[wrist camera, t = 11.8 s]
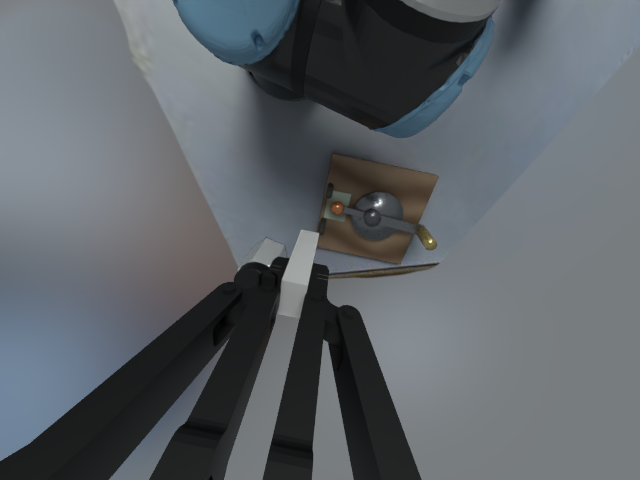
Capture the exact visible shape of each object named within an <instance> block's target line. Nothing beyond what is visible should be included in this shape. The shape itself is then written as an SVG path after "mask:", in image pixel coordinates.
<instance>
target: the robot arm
mask: <svg viewBox="0 0 640 480" xmlns="http://www.w3.org/2000/svg"><path fill="white" fill-rule="evenodd" d="M501 1H502V0H173V2H174V5H175V7H176V8H177V10H178V13H179V16H180V18H181V20H182V21H183V23H184V24H185V26H186V27H187V29H188V30H189V31H190V33H191V34H192V35H193V36H194V37H195V38H196V39H197V40H198V41H199V42H200V43H201V44H202V45H203V46H204V47H205V48H207V49H208V50H209V51H210V52H211V53H213V54H214V56H215V57H217V58H219V59H220V60H222V61H223V62H226V63H229V64H232V65H237V66H239V67H241V68H243V69H245V70H247V71H248V73H249V74H250V76H251V77H252V79H253V80H254V81H255V82H256V84H257V85H258V86H259V87H260V88H262V89H263V90H264V91H265V92H267V93H268V94H270V95H272V96H274V97H276V98H279V99H283V100H288V101H296V100H301V99H305V98H308V99H310V100H312V101H314V102H317V103H319V104H321V105H323V106H325V107H327V108H329V109H331V110H333V111H335V112H337V113H339V114H341V115H344V116H346V117H348V118H350V119H352V120H354V121H356V122H358V123H360V124H362V125H364V126H366V127H368V128H369V129H370V130H373V131H377V132H382V133H385V134H388V135H390V136H393V137H396V138H406V137H410V136H413V135H415V134H417V133H419V132H420V131H422V130H423V129H425V128H426V127H428V126H429V125H430V124H431V123H432V122H434V121H435V120H436V119H437V118H438V117H439V116H440V115H441V114H442V113H443V112H444V111H445V110H446V109H447V108H448V107H449V106H450V105H451V104H452V103H453V101H454V100H455V99H456V98H457V97H458V95H459V94H460V93H461V91H462V86H463V84H464V83H465V82H467V81H468V80H469V79H470V78H471V77H473V75H474V73H475V72H476V70H477V69H478V67H479V66H480V64H481V63H482V61H483V59H484V57H485V55H486V53H487V51H488V49H489V47H490V44H491V42H492V39H493V34H494V21H493V20H492V16H491V15H492V14H493V13H494V11H495V10H496V9H497V7H498V6H499V4H500V3H501ZM318 237H319V233H316V232H312V231H307V230H302V229H301V231H300V234H299V237H298V239H297V242H296V244H295V247H294V250H293V252H292V255H291V257H290V259H289V258H284V257H279V256H278V257H276V258H275V259H274V260H273V261H272V263H271V265H270V267H269V269H268V270H264V271H262V272H260V273H259V274H258V275H257V287H254V288H246V289H242V287H241V286H240V285H239V284H238V283H235V282H227V283H223V284H221V285H220V286H218V287H217V288H216V289H215V290H214V291H212V292H211V293H210V294H209V295H207V296H206V297H205V298H204V299H203V300H201V301H200V302H199V303H198V304H197V305H196V306H194V307H193V308H192V309H191V310H190V311H188V312H187V313H186V314H185V315H184V316H182V317H181V318H180V319H179V320H178V321H176V322H175V323H174V324H173V325H172V326H170V327H169V328H168V329H167V330H166V331H164V332H163V333H162V334H161V335H160V336H158V337H157V338H156V339H155V340H153V341H152V342H151V343H150V344H149V345H147V346H146V347H145V348H144V349H143V350H141V352H139V353H138V354H137V355H135V356H134V357H133V358H132V359H131V360H129V361H128V362H127V363H126V364H125V365H123V366H122V367H121V368H120V369H119V370H117V371H116V372H115V373H114V374H113V375H111V376H110V377H109V378H108V379H107V380H105V381H104V382H103V383H102V384H101V385H99V386H98V387H97V388H96V389H95V390H93V391H92V392H91V393H90V394H89V395H87V396H86V397H85V398H84V399H82V400H81V401H80V402H79V403H78V404H76V405H75V406H74V407H73V408H72V409H70V410H69V411H68V412H67V413H66V414H64V415H63V416H62V417H61V418H60V419H58V420H57V421H56V422H55V423H54V424H53V425H51V426H50V427H49V428H48V429H46V430H45V431H44V432H43V433H42V434H40V435H39V436H38V437H37V438H36V439H34V440H33V441H32V442H31V443H30V444H28V445H27V446H25V447H23V448H22V449H20V450H18V451H17V452H15V453H13V454H12V455H10V456H8V457H7V458H5V459H3V460H2V461H0V480H109V479H110V477H111V476H112V475H113V474H114V473H115V472H116V471H117V469H118V468H119V467H120V466H121V464H123V462H124V461H125V460H126V459H127V458H128V456H129V455H130V454H131V453H132V451H134V449H135V448H136V447H137V446H138V445H139V444H140V442H141V441H142V440H143V439H144V438H145V436H146V435H147V434H148V433H149V432H150V431H151V429H152V428H153V427H154V426H155V425H156V424H157V422H158V421H159V420H160V419H161V418H162V417H163V415H164V414H165V413H166V412H167V411H168V409H169V408H170V407H171V406H172V405H173V404H174V402H175V401H176V400H177V399H178V398H179V396H180V395H181V394H182V393H183V392H184V391H185V389H186V388H187V387H188V386H189V385H190V384H191V382H192V381H193V380H194V379H195V378H196V376H197V375H198V374H199V373H200V372H201V371H202V369H203V368H204V367H205V366H206V365H207V364H208V362H209V361H210V360H211V359H212V358H213V356H214V355H215V354H216V353H217V352H218V351H219V350H220V348H221V347H222V346H223V345H224V344H225V342H226V341H227V340H228V339H229V338H230V339H229V341H228V343H227V345H226V347H225V349H224V350H223V352H222V354H221V356H220V358H219V360H218V362H217V364H216V366H215V368H214V370H213V372H212V374H211V376H210V378H209V379H208V381H207V383H206V385H205V387H204V389H203V391H202V393H201V395H200V397H199V399H198V401H197V403H196V405H195V407H194V408H193V410H192V412H191V414H190V416H189V418H188V420H187V421H186V422H185V424H183V425H182V426H180V427H179V428H178V430H177V431H176V432H175V433H174V435H173V437H172V438H171V440H170V442H169V444H168V446H167V447H166V449H165V451H164V453H163V455H162V457H161V459H160V460H159V462H158V464H157V466H156V468H155V470H154V472H153V473H152V475H151V477H150V479H149V480H224V477H225V473H226V467H227V464H228V460H229V457H230V454H231V451H232V448H233V445H234V442H235V439H236V436H237V433H238V431H239V427H240V425H241V422H242V419H243V416H244V412H245V410H246V407H247V404H248V401H249V398H250V395H251V392H252V389H253V386H254V383H255V380H256V377H257V374H258V371H259V368H260V365H261V362H262V359H263V356H264V353H265V350H266V347H267V344H268V341H269V338H270V335H271V333H272V330H273V326H274V324H275V319H276V314H279V315H283V316H288V317H293V318H298V319H299V324H298V328H297V333H296V337H295V342H294V346H293V350H292V355H291V359H290V364H289V368H288V372H287V377H286V381H285V385H284V390H283V394H282V399H281V403H280V407H279V412H278V416H277V421H276V425H275V430H274V434H273V438H272V442H271V446H270V450H269V454H268V458H267V463H266V467H265V472H264V476H263V480H312V468H313V450H312V446H313V436H314V426H315V415H316V405H317V396H318V385H319V375H320V365H321V356H322V344H323V339H324V340H325V341H327V342H328V345H329V350H330V355H331V360H332V366H333V371H334V377H335V382H336V387H337V392H338V398H339V403H340V408H341V414H342V418H343V424H344V430H345V435H346V440H347V446H348V451H349V456H350V462H351V467H352V472H353V477H354V480H421V477H420V475H419V472H418V469H417V466H416V464H415V461H414V458H413V456H412V453H411V450H410V447H409V445H408V442H407V439H406V437H405V434H404V431H403V429H402V426H401V423H400V420H399V418H398V415H397V412H396V409H395V407H394V404H393V401H392V399H391V396H390V393H389V390H388V388H387V385H386V382H385V380H384V377H383V374H382V371H381V369H380V366H379V363H378V361H377V358H376V355H375V352H374V350H373V347H372V344H371V342H370V339H369V336H368V333H367V331H366V328H365V325H364V323H363V320H362V317H361V315H360V313H359V311H358V310H357V309H356V308H354V307H352V306H349V305H343V306H341V307H337V306H335V305H333V304H331V303H330V302H329V301H328V299H327V285H328V275H329V270H328V268H327V266H325V265H320V264H315V263H313V262H314V257H315V252H316V247H317V242H318ZM277 311H278V313H277Z"/></svg>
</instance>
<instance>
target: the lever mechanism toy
mask: <svg viewBox="0 0 640 480" xmlns="http://www.w3.org/2000/svg"><path fill="white" fill-rule="evenodd" d="M437 179H438V176H437V175H434V174H429V173H425V172H420V171H415V170H410V169H405V168H401V167H396V166H391V165H386V164H382V163H377V162H372V161H367V160H362V159H358V158H353V157H348V156H343V155H339V154H334V153H333V154H332V158H331V163H330V169H329V174H328V179H327V184H326V189H325V194H324V199H323V204H322V209H321V214H320V219H319V224H318V229H317V233H319V237H318V242H317V247H320V248H325V249H329V250H334V251H339V252H344V253H349V254H353V255H358V256H363V257H368V258H373V259H378V260H382V261H387V262H392V263H397V264H401V262H402V260H403V257H404V255H405V253H406V251H407V248H408V246H409V244H410V241H411V239H412V237H413V235H414V233H410V232H406V231H403V230H399V229H398V230H397V231H396V232H395V233H394V234H392V235H391V236H389V237H387V238H384V239H378V240H373V239H368V238H365V237H363V236H361V235H360V234H359V233H358V232H357V231H356V230H355V228H354V226H353V223H352V215H350V214H346V213H342V214H340V215H334V214H333V213H332V212H331V210H330V206H331V204H332V202H334V201H341V202H342V203H343V204H344V206H348V207H352V208H353V207H354V205H355V203H356V202H357V201H358V200H359V199H360V198H361V197H362V196H363V195H365V194H367V193H369V192H373V191H385V192H388V193H390V194H392V195H394V196H395V197H396V198H397V199H398V200H399V202H400V203H401V205H402V208H403V213H404V216H403V220H406V221H410V222H413V223H417V224H418V223H419V221H420V218H421V216H422V214H423V212H424V209H425V207H426V205H427V202H428V200H429V198H430V196H431V193H432V191H433V189H434V186H435V184H436V182H437Z"/></svg>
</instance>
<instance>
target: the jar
mask: <svg viewBox="0 0 640 480" xmlns="http://www.w3.org/2000/svg"><path fill="white" fill-rule="evenodd" d="M278 256H279V257H284V258H287V255H286V251H285V246H284V245H282V244H280V243H277V242H275V241H273V240H270V239H268V238H266V239H264V240H263V241H261V242H260V243H258V244H257V245H255V246H254V247H253V248H252V250H251V251H250V252H249V254H248V255H247V257H246V258H245V259H244V261H243V262H242V264H241V265H240V266H239V268H238V272H237V274H236V275H235V278H234V282H235V283H238V284H239V285H240V286H241V287H242V289H246V288H254V287H257V275H258V274H259V273H260V272H262V271H264V270H268V269H269V267H270V265H271V263H272V261H273V260H274V259H275V258H276V257H278Z"/></svg>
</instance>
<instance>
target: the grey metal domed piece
mask: <svg viewBox="0 0 640 480" xmlns="http://www.w3.org/2000/svg"><path fill="white" fill-rule="evenodd" d="M330 210H331V212H332V213H333V214H334V215H340V214H342V213H346V214H350V215H352V223H353V226H354V228H355V230H356V231H357V232H358V233H359V234H360V235H361V236H363V237H365V238H368V239H373V240H378V239H384V238H387V237H389V236H391V235H392V234H394V233H395V232H396V231H397V230H398V229H399V230H403V231H406V232H410V233H414V234H417V235H418V237H419V239H420V240H421V242H422V244H423V245H424V247H425V248H426V249H427V250H433V249H435V248H436V246H437V243H436V241H435V240H434V238H433V237H432V236H431V234H430V233H429V232H428V230H427V229H426V228H425V226H424V225H421V224H417V223H413V222H410V221H406V220H403V216H404V213H403V208H402V205H401V203H400V202H399V200H398V199H397V198H396V197H395V196H394V195H392V194H390V193H388V192H385V191H373V192H369V193H367V194H365V195H363V196H362V197H361V198H360V199H359V200H358V201H357V202H356V203H355V205H354V207H353V208H352V207H348V206H344V204H343V203H342V202H341V201H334V202H332V204H331V206H330Z"/></svg>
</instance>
